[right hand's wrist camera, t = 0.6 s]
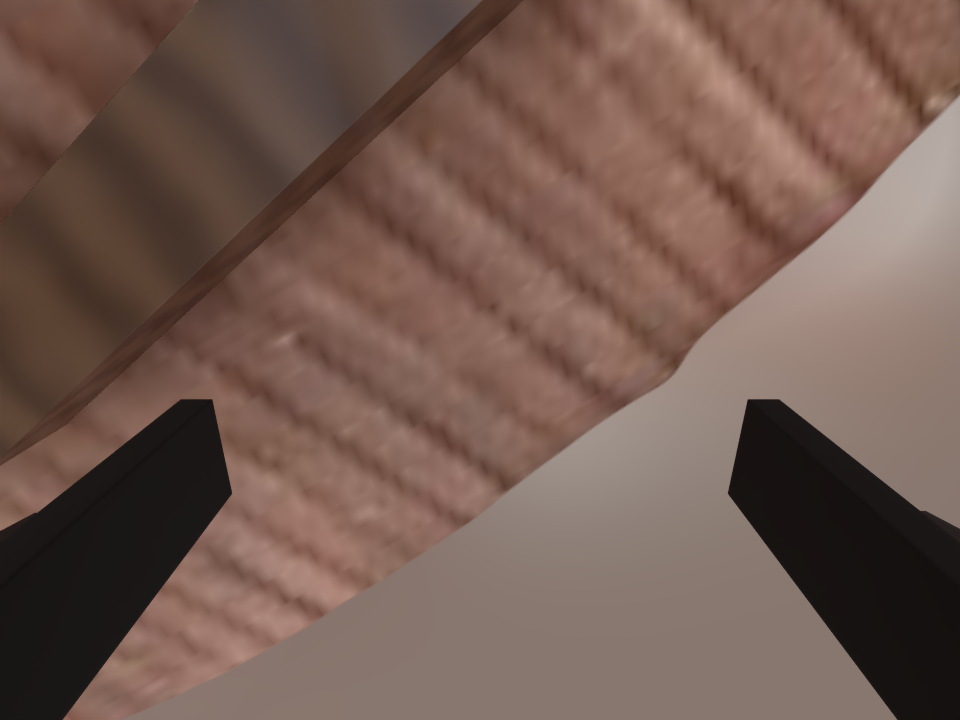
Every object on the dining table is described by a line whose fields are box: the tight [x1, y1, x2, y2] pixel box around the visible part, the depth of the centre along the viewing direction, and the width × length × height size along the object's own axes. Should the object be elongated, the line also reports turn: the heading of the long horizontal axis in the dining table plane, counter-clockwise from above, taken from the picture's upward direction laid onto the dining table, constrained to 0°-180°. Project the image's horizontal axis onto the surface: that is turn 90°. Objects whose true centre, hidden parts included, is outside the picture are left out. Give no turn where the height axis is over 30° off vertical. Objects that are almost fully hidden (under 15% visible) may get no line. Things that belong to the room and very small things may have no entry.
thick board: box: [0, 0, 523, 465], centre depth 29 cm, size 71×9×8 cm, turn 129°
